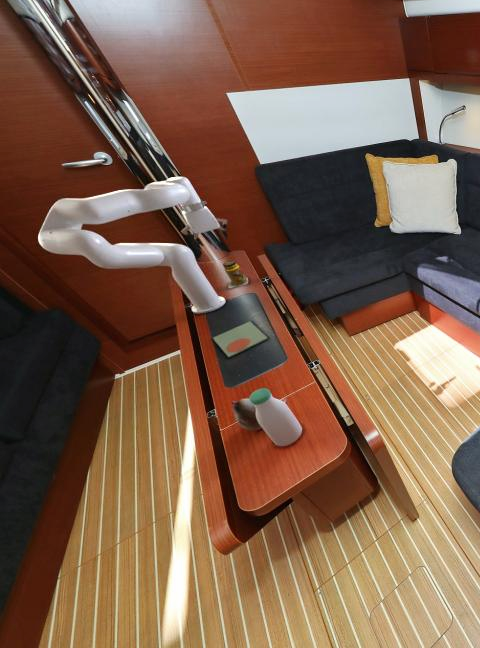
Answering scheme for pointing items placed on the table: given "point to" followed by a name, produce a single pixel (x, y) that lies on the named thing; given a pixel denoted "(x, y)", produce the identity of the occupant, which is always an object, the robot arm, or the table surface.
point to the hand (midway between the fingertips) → (214, 241)
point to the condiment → (235, 274)
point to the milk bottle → (275, 418)
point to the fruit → (246, 414)
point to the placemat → (240, 339)
